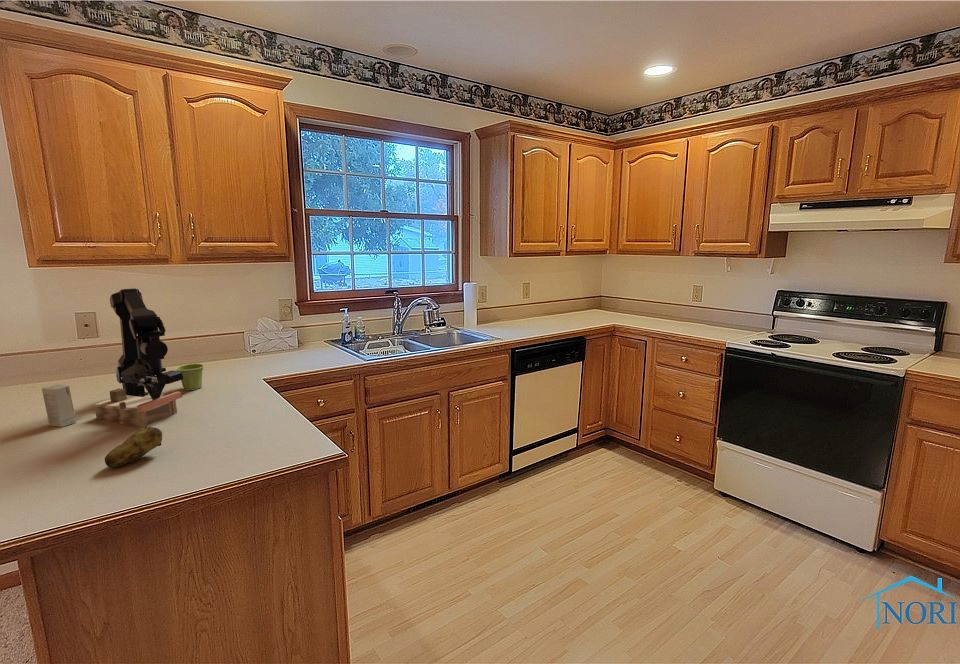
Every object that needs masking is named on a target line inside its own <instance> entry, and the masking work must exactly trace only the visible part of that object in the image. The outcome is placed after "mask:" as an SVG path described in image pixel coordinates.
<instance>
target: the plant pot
mask: <svg viewBox="0 0 960 664" xmlns="http://www.w3.org/2000/svg"><path fill="white" fill-rule="evenodd" d="M204 367H205V365H204V364H203V363H190V364H183V365H180V366H177V367H176V368H175V371H180V372H182V373H183V380H180V382H181V385H182V388H183V390H184V391H187V390H188V391H194V390H198V389H200V388H202V387H203V372H204V371H203V370H204Z"/></svg>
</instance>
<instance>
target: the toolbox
mask: <svg viewBox="0 0 960 664" xmlns="http://www.w3.org/2000/svg"><path fill="white" fill-rule="evenodd" d="M176 400H177V399H176ZM176 400H174V401H171V402H170V403H169V404H166V405H163V406H161V407H158V408H155V409H152V410H150V411H147V412H138V410H137V409H129V408H126V403H125V402H121V403H119V405H120V409H119V410H118V409H110V408H102V407H96V406H95V407H94V411H95V417H96V420H102V421H108V422H109V421H110V422H115V423H117V422H118V423H120V425H124V426H125V425H127V426H133V427H140V428H144V427H147V425H148V424H152V423H154V422H156V421H159V420H162V419H165V418H167V417H169V416H172V415H176V414H178V409H177V401H176Z"/></svg>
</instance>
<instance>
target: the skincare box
mask: <svg viewBox="0 0 960 664" xmlns="http://www.w3.org/2000/svg"><path fill="white" fill-rule="evenodd" d="M41 391H42V397H43V401H44V406H45V411H46V416H47V421H48V425H49V426H52V427H60V428H63V427H65V426H69V425H72V424H75V423H77V418H76V413H75V408H74V404H73V399H72V392H71V389H70V385H65V384H64V385H63V384H53V385H48V386H45V387H42V388H41Z"/></svg>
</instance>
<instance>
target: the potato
mask: <svg viewBox="0 0 960 664" xmlns="http://www.w3.org/2000/svg"><path fill="white" fill-rule="evenodd" d="M162 442H163V432H162V430H161V429H159V428H157V427H154V426H144V427H140V428H139V429H138V430H136V431H135V432H133V433H132V434H131V435H130V436H128V437H127V438H126V439H125V440H124V441H123V442H122V443H121V444H120V445H118V446H116V447H114V448H113V449H112V450H110V451H109V452H108V453H107V454H106V455H105V456H104V463H105V466H107V467H109V468H119V467H122V466H124V465H127V464H128V463H132V462H135V461H137V460H138V459H141V458H142V457H143V456H145V455H147V453H149V452H151V451H152V450H154V449H155V448H157V447H160V446H161V447H162Z"/></svg>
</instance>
